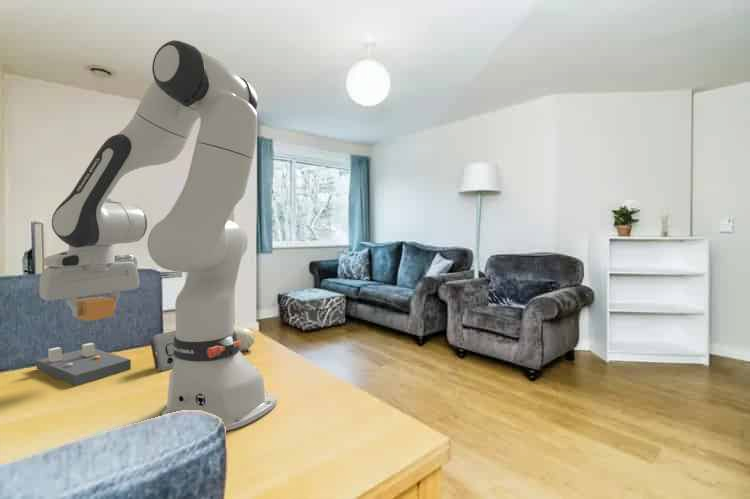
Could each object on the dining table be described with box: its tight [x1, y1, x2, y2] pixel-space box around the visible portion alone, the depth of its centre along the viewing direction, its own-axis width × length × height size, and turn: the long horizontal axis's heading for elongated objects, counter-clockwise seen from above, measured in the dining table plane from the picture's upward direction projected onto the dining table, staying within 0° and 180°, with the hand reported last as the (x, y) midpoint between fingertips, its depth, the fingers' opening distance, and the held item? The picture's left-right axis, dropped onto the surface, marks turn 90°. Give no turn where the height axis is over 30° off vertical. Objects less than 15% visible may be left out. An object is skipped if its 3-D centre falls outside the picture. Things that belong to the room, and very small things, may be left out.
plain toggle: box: [47, 346, 63, 362], centre depth 94 cm, size 2×2×3 cm
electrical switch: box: [149, 329, 176, 372], centre depth 100 cm, size 9×5×9 cm, turn 152°
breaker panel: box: [36, 348, 132, 387], centre depth 96 cm, size 20×12×3 cm, turn 62°
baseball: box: [233, 327, 256, 352], centre depth 112 cm, size 7×7×7 cm
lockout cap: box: [74, 296, 115, 322], centre depth 92 cm, size 6×6×4 cm
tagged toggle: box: [81, 342, 96, 357], centre depth 98 cm, size 2×2×3 cm
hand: (95, 312), depth 92 cm, fingers closed on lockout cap, 6 cm apart
